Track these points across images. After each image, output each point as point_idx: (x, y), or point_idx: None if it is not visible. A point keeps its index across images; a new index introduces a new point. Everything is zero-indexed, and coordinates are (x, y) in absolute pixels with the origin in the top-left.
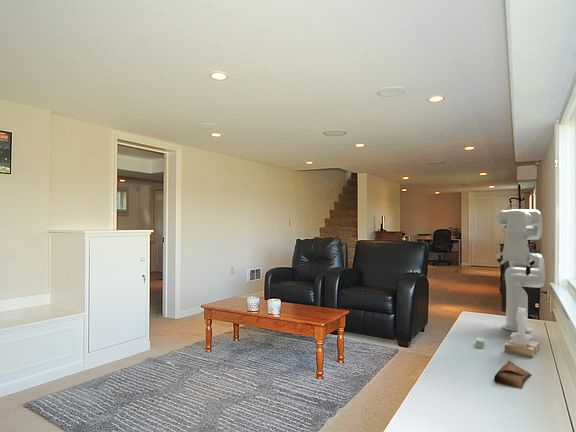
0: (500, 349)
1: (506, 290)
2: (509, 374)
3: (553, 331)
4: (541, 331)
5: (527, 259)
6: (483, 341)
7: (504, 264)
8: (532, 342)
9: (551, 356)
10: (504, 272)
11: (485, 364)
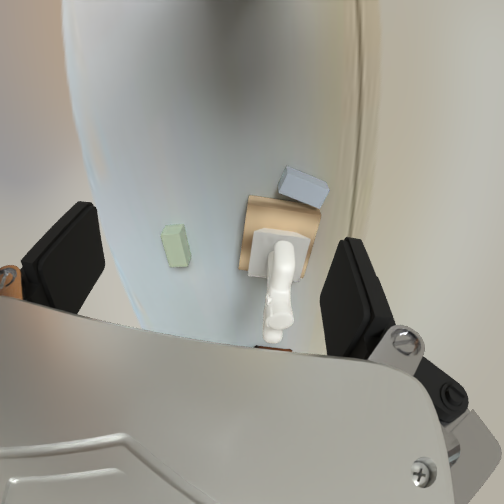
0: (228, 242)
1: None
2: None
3: None
4: None
5: (416, 393)
6: (186, 265)
7: (45, 302)
8: (308, 196)
9: (346, 231)
10: (99, 251)
11: (221, 342)
